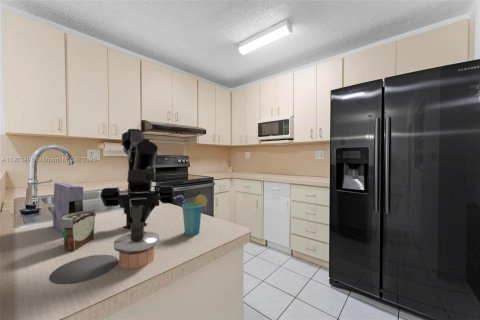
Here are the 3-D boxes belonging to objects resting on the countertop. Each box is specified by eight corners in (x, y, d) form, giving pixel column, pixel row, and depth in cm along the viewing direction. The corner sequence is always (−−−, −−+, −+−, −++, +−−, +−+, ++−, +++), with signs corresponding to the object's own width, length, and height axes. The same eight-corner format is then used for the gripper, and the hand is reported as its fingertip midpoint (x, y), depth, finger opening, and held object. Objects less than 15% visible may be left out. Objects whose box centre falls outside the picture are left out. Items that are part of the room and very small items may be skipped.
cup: (178, 242, 71) (178, 197, 71) (167, 235, 77) (167, 194, 76) (211, 231, 81) (211, 192, 81) (199, 226, 87) (199, 190, 86)
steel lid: (103, 248, 54) (103, 209, 54) (136, 233, 65) (136, 200, 64) (138, 255, 51) (138, 213, 51) (167, 238, 61) (167, 203, 61)
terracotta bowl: (112, 267, 55) (111, 252, 55) (136, 253, 63) (136, 239, 63) (138, 272, 53) (138, 256, 53) (160, 257, 61) (160, 243, 61)
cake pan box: (84, 233, 79) (84, 185, 79) (68, 237, 75) (67, 187, 75) (67, 223, 90) (67, 181, 90) (52, 226, 86) (51, 182, 86)
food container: (77, 239, 74) (77, 210, 73) (96, 238, 74) (96, 209, 74) (48, 255, 61) (48, 221, 61) (71, 255, 62) (70, 220, 62)
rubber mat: (34, 279, 49) (34, 277, 49) (92, 253, 63) (92, 251, 63) (78, 291, 45) (78, 289, 45) (130, 260, 59) (130, 258, 59)
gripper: (102, 158, 58) (86, 208, 48) (173, 158, 64) (173, 204, 53) (110, 183, 66) (98, 231, 56) (173, 181, 71) (173, 225, 61)
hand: (136, 222), depth 56 cm, fingers closed on steel lid, 3 cm apart
